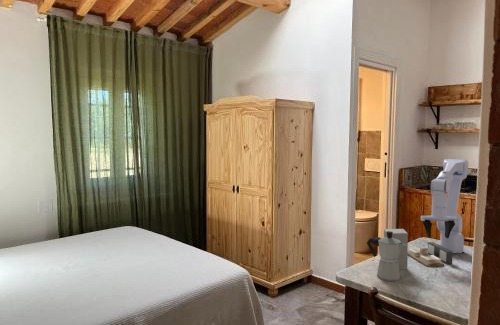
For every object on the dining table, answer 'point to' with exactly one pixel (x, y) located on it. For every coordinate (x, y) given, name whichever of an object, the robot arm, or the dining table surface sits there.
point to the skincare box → (403, 237)
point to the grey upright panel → (440, 252)
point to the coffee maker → (387, 256)
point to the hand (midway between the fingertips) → (437, 237)
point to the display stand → (424, 257)
